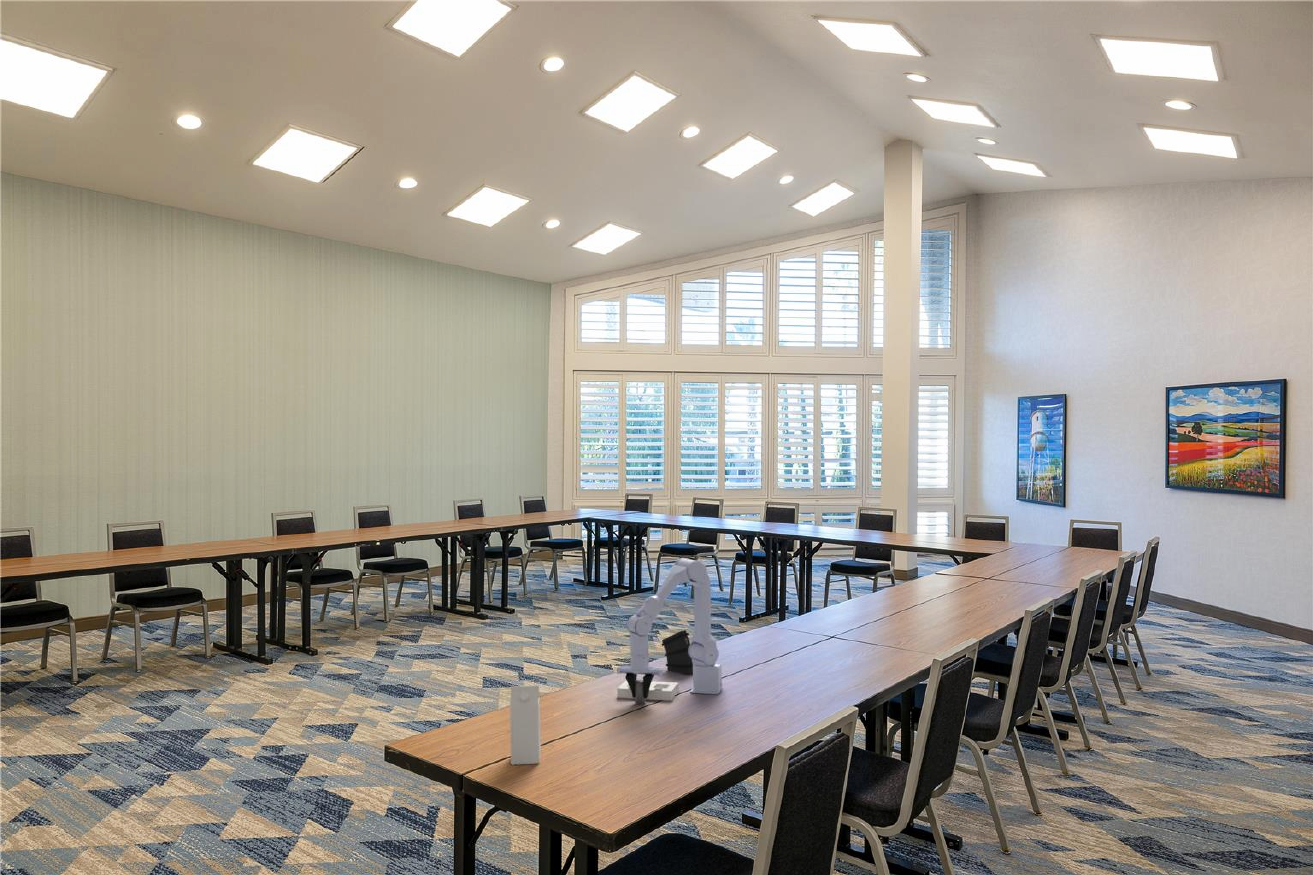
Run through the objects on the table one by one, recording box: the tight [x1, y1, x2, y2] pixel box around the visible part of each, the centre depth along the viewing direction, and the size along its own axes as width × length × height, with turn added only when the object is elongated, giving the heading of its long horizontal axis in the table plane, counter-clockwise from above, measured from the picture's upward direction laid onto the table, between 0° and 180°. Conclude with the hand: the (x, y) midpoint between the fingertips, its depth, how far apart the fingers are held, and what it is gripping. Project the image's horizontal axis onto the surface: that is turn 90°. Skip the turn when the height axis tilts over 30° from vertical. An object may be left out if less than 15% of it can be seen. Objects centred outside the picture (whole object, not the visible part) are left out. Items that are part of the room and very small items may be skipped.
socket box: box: [616, 679, 680, 701], centre depth 273 cm, size 18×10×3 cm, turn 75°
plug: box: [634, 679, 646, 706], centre depth 264 cm, size 3×3×7 cm
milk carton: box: [509, 685, 542, 766], centre depth 217 cm, size 7×7×19 cm
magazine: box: [661, 629, 693, 676], centre depth 301 cm, size 4×13×15 cm, turn 44°
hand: (640, 697), depth 264 cm, fingers closed on plug, 3 cm apart
